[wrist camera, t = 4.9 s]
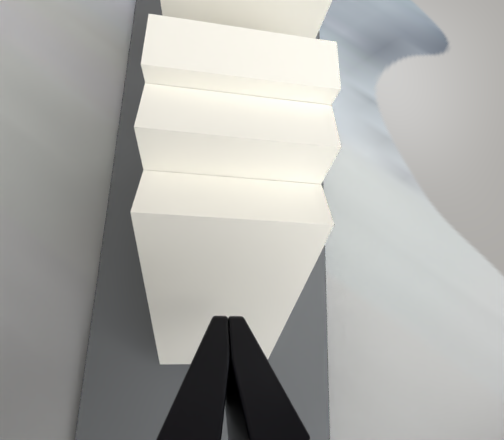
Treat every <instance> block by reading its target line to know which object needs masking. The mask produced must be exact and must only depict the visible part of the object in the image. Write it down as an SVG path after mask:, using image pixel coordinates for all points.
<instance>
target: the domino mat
mask: <svg viewBox="0 0 504 440" xmlns="http://www.w3.org/2000/svg"><path fill="white" fill-rule="evenodd" d="M149 14H155V15H162V9H161V2H160V0H136V6H135V13H134V21H133V28H132V35H131V42H130V49H129V56H128V64H127V71H126V78H125V85H124V92H123V99H122V107H121V114H120V121H119V128H118V135H117V142H116V149H115V157H114V164H113V171H112V178H111V185H110V192H109V200H108V207H107V214H106V221H105V228H104V235H103V243H102V250H101V257H100V264H99V271H98V278H97V286H96V293H95V300H94V307H93V314H92V321H91V328H90V336H89V343H88V350H87V357H86V364H85V371H84V379H83V386H82V393H81V400H80V407H79V414H78V422H77V429H76V436H75V440H156V438H157V436H158V434H159V432H160V430H161V427H162V425H163V423H164V421H165V419H166V417H167V414H168V412H169V410H170V408H171V406H172V404H173V401H174V399H175V397H176V395H177V393H178V390H179V388H180V386H181V384H182V382H183V380H184V377H185V375H186V373H187V371H188V369H189V367H190V364H160V363H159V357H158V352H157V347H156V342H155V337H154V332H153V326H152V321H151V316H150V311H149V306H148V301H147V295H146V290H145V285H144V280H143V275H142V270H141V264H140V259H139V254H138V249H137V244H136V239H135V233H134V228H133V223H132V218H131V213H130V212H131V208H132V205H133V202H134V199H135V196H136V192H137V189H138V186H139V183H140V179H141V176H142V173H143V166H142V161H141V157H140V152H139V148H138V143H137V139H136V134H135V130H134V124H135V120H136V116H137V113H138V109H139V105H140V101H141V97H142V93H143V89H144V85H145V80H144V76H143V72H142V67H141V59H142V53H143V46H144V40H145V34H146V27H147V21H148V15H149ZM316 39H320V38H319V32H318V34H317V36H316ZM321 185H322V188H323V182H322V183H321ZM268 361H269V363H270V365H271V367H272V368H273V370H274V372H275V374H276V376H277V377H278V379H279V381H280V383H281V385H282V386H283V388H284V390H285V392H286V394H287V395H288V397H289V399H290V401H291V402H292V404H293V406H294V408H295V410H296V411H297V413H298V415H299V417H300V419H301V420H302V422H303V424H304V426H305V428H306V429H307V431H308V433H309V435H310V437H311V438H310V440H330V426H329V388H328V349H327V310H326V271H325V245H324V247H323V249H322V251H321V253H320V255H319V257H318V259H317V261H316V263H315V265H314V267H313V269H312V271H311V273H310V275H309V277H308V279H307V281H306V284H305V286H304V288H303V290H302V292H301V294H300V296H299V298H298V300H297V302H296V304H295V306H294V308H293V310H292V312H291V314H290V316H289V318H288V320H287V322H286V324H285V326H284V328H283V330H282V332H281V334H280V336H279V338H278V340H277V342H276V344H275V346H274V348H273V350H272V352H271V354H270V356H269V358H268ZM221 440H228V431H227V420H226V410H224V419H223V428H222V437H221Z"/></svg>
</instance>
